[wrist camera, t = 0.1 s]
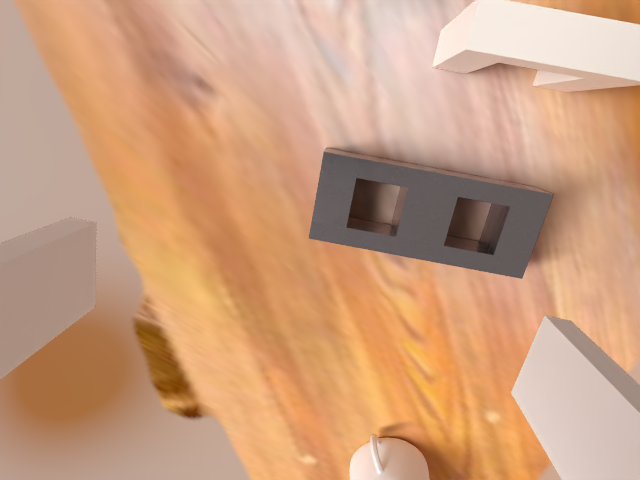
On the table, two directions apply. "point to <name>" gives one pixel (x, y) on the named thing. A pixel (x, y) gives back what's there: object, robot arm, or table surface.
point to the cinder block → (429, 213)
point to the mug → (388, 461)
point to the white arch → (542, 45)
